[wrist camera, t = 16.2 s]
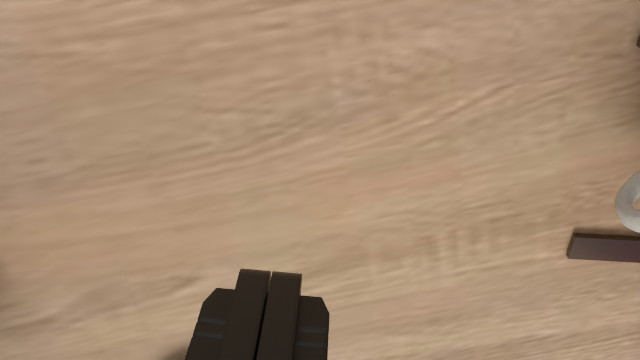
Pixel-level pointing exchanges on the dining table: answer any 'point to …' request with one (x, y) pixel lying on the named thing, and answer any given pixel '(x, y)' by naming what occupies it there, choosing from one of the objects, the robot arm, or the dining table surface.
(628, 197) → the teacup
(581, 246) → the walnut frame
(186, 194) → the dining table surface
